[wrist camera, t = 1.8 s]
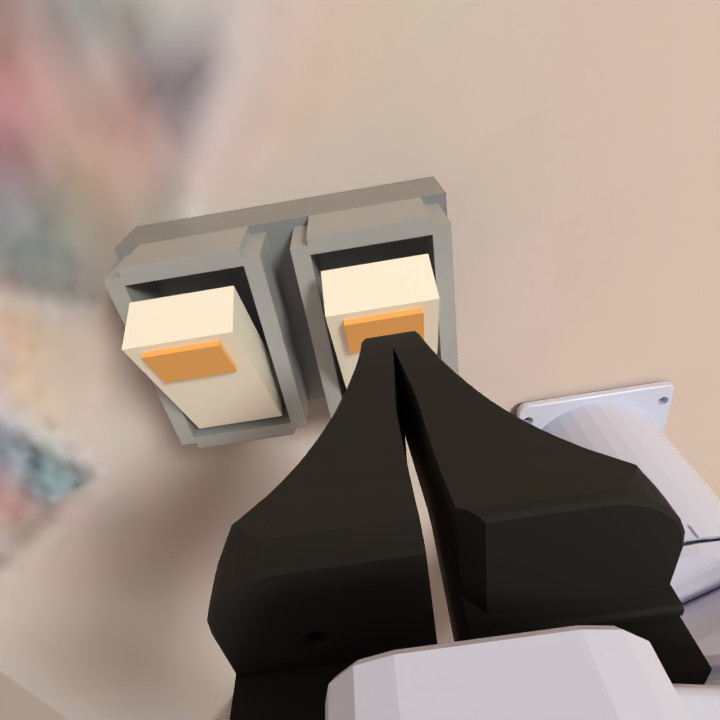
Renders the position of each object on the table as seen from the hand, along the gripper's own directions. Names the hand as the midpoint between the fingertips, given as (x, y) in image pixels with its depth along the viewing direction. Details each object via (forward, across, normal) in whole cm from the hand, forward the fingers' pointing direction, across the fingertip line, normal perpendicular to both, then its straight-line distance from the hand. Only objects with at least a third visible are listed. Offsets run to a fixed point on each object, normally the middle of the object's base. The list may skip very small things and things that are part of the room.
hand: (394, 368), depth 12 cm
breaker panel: (+10, +3, +2) cm, 10 cm away
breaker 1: (+5, +6, +2) cm, 8 cm away
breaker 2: (+5, 0, +2) cm, 5 cm away
